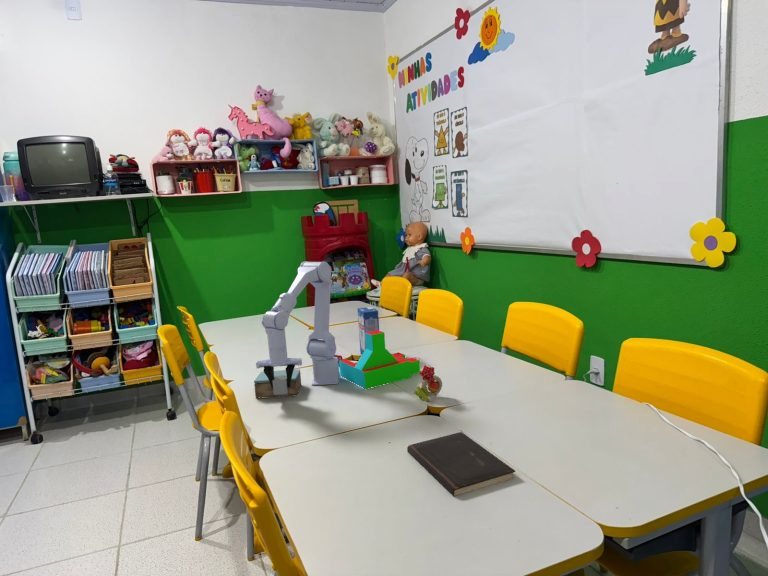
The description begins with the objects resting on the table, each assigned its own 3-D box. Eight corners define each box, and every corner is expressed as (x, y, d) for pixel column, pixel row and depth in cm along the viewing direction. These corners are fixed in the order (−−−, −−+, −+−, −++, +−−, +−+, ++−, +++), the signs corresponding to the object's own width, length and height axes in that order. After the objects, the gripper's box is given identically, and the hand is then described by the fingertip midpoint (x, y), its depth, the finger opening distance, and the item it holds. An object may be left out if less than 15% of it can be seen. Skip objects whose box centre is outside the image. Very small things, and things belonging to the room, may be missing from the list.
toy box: (301, 384, 185) (300, 371, 184) (296, 395, 174) (295, 381, 173) (262, 387, 184) (261, 373, 184) (255, 398, 174) (254, 384, 173)
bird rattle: (429, 399, 169) (407, 395, 164) (439, 367, 169) (418, 362, 165) (440, 406, 163) (417, 401, 159) (450, 372, 164) (428, 366, 159)
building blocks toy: (424, 374, 189) (421, 326, 186) (365, 390, 176) (362, 339, 173) (395, 363, 204) (393, 318, 202) (340, 377, 192) (336, 329, 189)
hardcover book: (461, 439, 136) (461, 431, 135) (515, 480, 115) (515, 470, 114) (407, 454, 130) (406, 445, 129) (453, 499, 109) (453, 489, 108)
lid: (300, 371, 184) (300, 369, 184) (295, 380, 173) (295, 378, 173) (261, 373, 184) (261, 371, 184) (254, 383, 173) (254, 381, 173)
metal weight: (289, 389, 170) (288, 374, 170) (287, 394, 166) (286, 379, 165) (276, 390, 170) (274, 375, 170) (273, 395, 166) (272, 380, 165)
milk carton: (360, 353, 219) (357, 308, 216) (374, 351, 221) (371, 306, 218) (366, 360, 210) (363, 312, 207) (381, 357, 212) (378, 310, 209)
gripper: (252, 352, 162) (256, 393, 164) (298, 349, 162) (301, 390, 164) (257, 346, 169) (261, 385, 171) (301, 343, 169) (304, 382, 171)
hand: (281, 387), depth 168 cm, fingers closed on metal weight, 4 cm apart
